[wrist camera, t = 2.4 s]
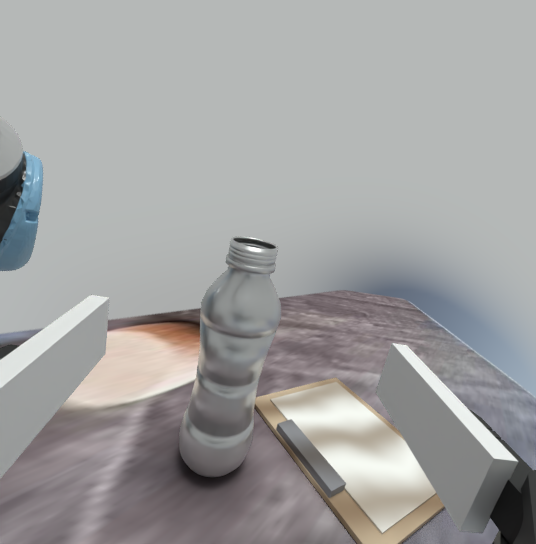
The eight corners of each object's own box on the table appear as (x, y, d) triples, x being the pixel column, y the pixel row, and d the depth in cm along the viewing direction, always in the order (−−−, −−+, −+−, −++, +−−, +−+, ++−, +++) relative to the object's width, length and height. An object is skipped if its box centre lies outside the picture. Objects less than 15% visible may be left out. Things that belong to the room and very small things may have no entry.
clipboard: (250, 402, 37) (252, 392, 37) (334, 380, 45) (337, 372, 45) (373, 565, 23) (379, 552, 23) (464, 491, 31) (469, 481, 31)
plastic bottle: (160, 474, 26) (195, 238, 21) (194, 419, 33) (228, 228, 27) (234, 501, 25) (290, 262, 20) (254, 439, 32) (301, 246, 26)
